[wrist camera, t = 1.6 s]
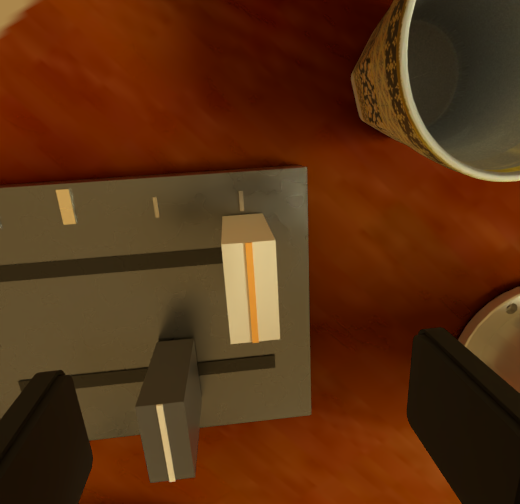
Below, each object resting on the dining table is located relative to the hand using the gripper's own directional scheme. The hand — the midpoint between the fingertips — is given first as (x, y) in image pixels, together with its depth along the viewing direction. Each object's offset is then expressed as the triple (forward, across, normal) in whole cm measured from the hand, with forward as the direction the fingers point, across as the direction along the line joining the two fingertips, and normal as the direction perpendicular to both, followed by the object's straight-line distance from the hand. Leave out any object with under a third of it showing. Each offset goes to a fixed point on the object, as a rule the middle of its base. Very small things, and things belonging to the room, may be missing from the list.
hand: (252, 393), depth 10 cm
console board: (+15, +6, +4) cm, 17 cm away
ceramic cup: (+15, -13, -10) cm, 22 cm away
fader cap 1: (+13, +4, +8) cm, 16 cm away
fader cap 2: (+13, -1, 0) cm, 13 cm away
